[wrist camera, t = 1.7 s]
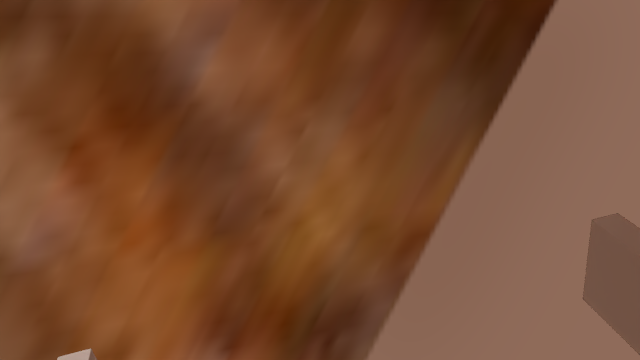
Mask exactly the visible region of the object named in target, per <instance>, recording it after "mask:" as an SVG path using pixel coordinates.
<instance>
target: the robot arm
mask: <svg viewBox="0 0 640 360" xmlns="http://www.w3.org/2000/svg"><path fill="white" fill-rule="evenodd" d="M589 241H590V242H589V249H588V258H587V267H586V276H585V285H584V294H583V300H585V301H586V302H587V303H588V304H589V305H590V306H591V307H592V308H593V309H594V310H595V311H596V312H597V313H598V314H599V315H600V316H601V317H602V318H603V319H604V320H605V321H606V322H607V323H608V324H609V325H610V326H611V327H612V328H613V329H614V330H615V331H616V332H617V333H618V334H619V335H620V336H621V337H622V338H623V339H624V340H625V341H626V342H627V343H628V344H629V345H630V346H631V347H632V348H633V349H634V350H635V351H636V352H637V353H638V354H639V355H640V228H638V227H637V226H635V225H634V224H633V223H631V222H630V221H628V220H627V219H625V218H624V217H622V216H621V215H620V214H618V213H617V214H613V215H609V216H605V217H601V218H597V219H593V220H592V223H591V232H590V240H589ZM57 360H97V359H96V357H95V355H94V353H93V351H92V349H88V350H84V351H80V352H76V353H72V354H68V355H64V356H60V357H58V359H57Z"/></svg>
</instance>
